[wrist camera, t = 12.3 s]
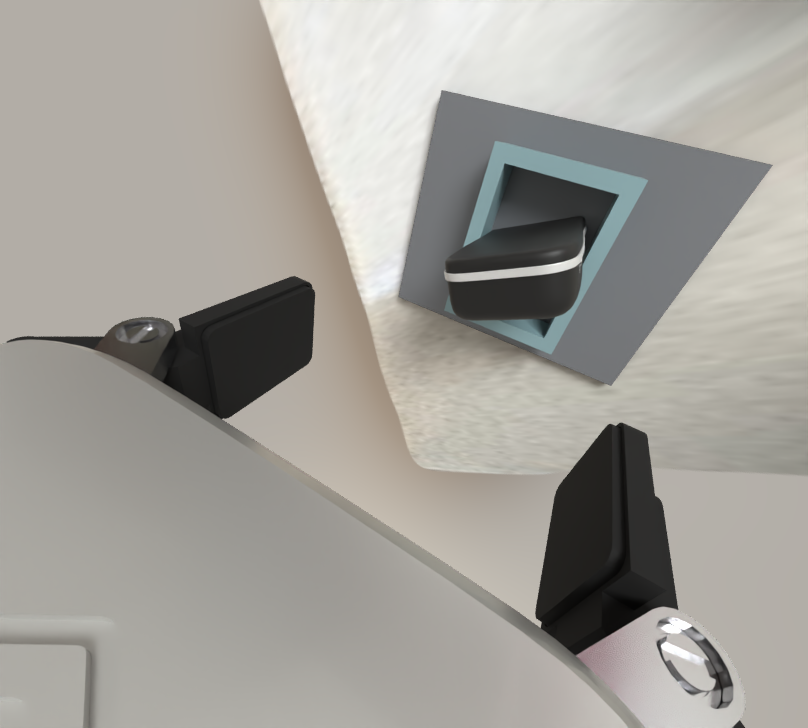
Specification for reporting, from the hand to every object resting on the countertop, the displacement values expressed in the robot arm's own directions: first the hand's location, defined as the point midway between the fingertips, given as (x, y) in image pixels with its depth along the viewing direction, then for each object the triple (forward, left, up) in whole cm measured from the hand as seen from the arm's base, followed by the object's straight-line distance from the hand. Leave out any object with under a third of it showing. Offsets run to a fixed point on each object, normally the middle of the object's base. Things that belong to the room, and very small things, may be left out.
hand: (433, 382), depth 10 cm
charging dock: (0, 0, -21) cm, 21 cm away
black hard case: (0, 0, -20) cm, 20 cm away
